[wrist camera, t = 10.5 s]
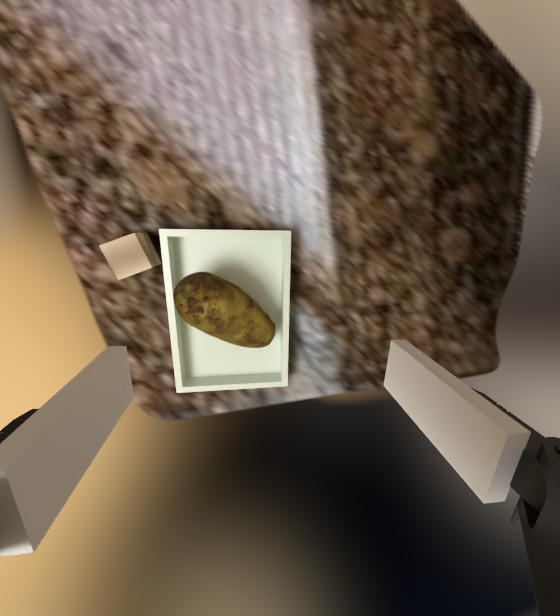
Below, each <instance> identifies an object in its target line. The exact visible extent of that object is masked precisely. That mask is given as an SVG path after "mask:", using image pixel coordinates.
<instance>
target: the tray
mask: <svg viewBox="0 0 560 616" xmlns="http://www.w3.org/2000/svg"><path fill="white" fill-rule="evenodd" d="M159 236H160V245H161V254H162V263H163V272H164V282H165V291H166V300H167V309H168V318H169V328H170V337H171V346H172V355H173V364H174V373H175V383H176V392H177V393H182V392H199V391H216V390H232V389H249V388H265V387H282V386H288V347H289V304H290V262H291V231H280V230H202V229H159ZM196 272H209V273H212V274H215V275H217V276H219V277H221V278H223V279H225V280H227V281H229V282H231V283H233V284H235V285H237V286H238V287H240V288H241V289H242V290H243V291H244V292H246V293H247V294H249V296H250V297H251V298H253V299H254V300H255V301H256V302H257V303H258V304H259V305H260V306H261V308H262V309H263V310H264V312H266V313H267V314H268V315H269V317H270V318H271V320H272V321H273V322H274V323H275V327H276V329H275V336H274V338H273V340H272V342H271V343H270V344H269V345H268V346H266V347H262V348H248V347H241V346H237V345H234V344H231V343H228V342H225V341H222V340H220V339H218V338H216V337H213V336H210V335H208V334H206V333H204V332H202V331H200V330H198V329H196V328H195V327H193V326H191V325H189V324H188V323H186V322H185V321H184V320H183V319H182V318H181V316H180V315H179V314H178V312H177V309H176V308H175V304H174V299H173V292H174V289H175V287H176V285H177V284H178V283H179V282H180V281H181V280H182V279H183V278H184V277H186V276H187V275H190V274H192V273H196Z"/></svg>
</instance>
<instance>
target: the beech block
mask: <svg viewBox="0 0 560 616" xmlns="http://www.w3.org/2000/svg"><path fill="white" fill-rule="evenodd" d="M100 248H101V250H102V252H103V253H104V255H105V257H106V259H107V261H108V262H109V264H110V266H111V268H112V270H113V271H114V273H115V275H116V277H117V279H118V280H120V279H123V278H125V277H128V276H131V275H134V274H136V273H139V272H142V271H144V270H147V269H150V268H152V267H155V266H157V265H159V264H162V262H161V260H160V258H159V256H158V254H157V252H156V250H155V248H154V246H153V244H152V242H151V240H150V238H149V236H148V234H147V232H145V233H133V234H130V235H127V236H124V237H122V238H119V239H116V240H114V241H111V242H108V243H105V244H103V245H100Z"/></svg>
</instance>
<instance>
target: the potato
mask: <svg viewBox="0 0 560 616" xmlns="http://www.w3.org/2000/svg"><path fill="white" fill-rule="evenodd" d="M173 299H174V304H175V308H176V309H177V312H178V314H179V315H180V316H181V318H182V319H183V320H184V321H185V322H186V323H188V324H189V325H191V326H193V327H195V328H196V329H198V330H200V331H202V332H204V333H206V334H208V335H210V336H213V337H216V338H218V339H220V340H222V341H225V342H228V343H231V344H234V345H237V346H241V347H248V348H262V347H266V346H268V345H269V344H270V343H271V342H272V340H273V338H274V336H275V329H276V327H275V323H274V322H273V321H272V320H271V318H270V317H269V315H268V314H267V313H266V312H264V310H263V309H262V308H261V306H260V305H259V304H258V303H257V302H256V301H255V300H254V299H253V298H251V297H250V296H249V294H247V293H246V292H244V291H243V290H242V289H241V288H240V287H238V286H237V285H235V284H233V283H231V282H229V281H227V280H225V279H223V278H221V277H219V276H217V275H215V274H212V273H209V272H196V273H192V274H190V275H187V276H186V277H184V278H183V279H182V280H181V281H180V282H179V283H178V284H177V285H176V287H175V289H174V292H173Z"/></svg>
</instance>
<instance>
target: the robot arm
mask: <svg viewBox="0 0 560 616" xmlns="http://www.w3.org/2000/svg"><path fill="white" fill-rule="evenodd" d="M384 387H385V388H386V389H387V390H388V391H389V392H390V393H391V395H392V396H393V397H394V398H395V399H396V401H397V402H398V403H399V404H400V405H401V407H402V408H403V409H404V410H405V411H406V412H407V414H408V415H409V416H410V417H411V418H412V419H413V421H414V422H415V423H416V424H417V425H418V427H419V428H420V429H421V430H422V431H423V432H424V434H425V435H426V436H427V437H428V438H429V440H430V441H431V442H432V443H433V444H434V445H435V447H436V448H437V449H438V450H439V451H440V452H441V454H442V455H443V456H444V457H445V458H446V460H447V461H448V462H449V463H450V464H451V465H452V467H453V468H454V469H455V470H456V471H457V472H458V474H459V475H460V476H461V477H462V478H463V480H465V482H466V483H467V484H468V485H469V487H470V488H471V489H472V490H473V491H474V492H475V494H476V495H477V496H478V497H479V498H480V499H481V501H482V502H483V503H491V502H501V501H505V499H506V497H507V494H508V491H509V488H510V486H511V487H512V488H513V489H514V490H515V491H516V492H517V493H518V494H519V495H520V498H519V500H518V503H517V505H516V508H515V510H514V513H513V516H512V518H511V524H513V525H515V524H516V522H517V520H519V519H520V521H521V526H522V531H523V536H524V541H525V546H526V551H527V557H528V561H529V566H530V572H531V577H532V581H533V587H534V592H535V597H536V602H537V607H538V612H539V616H560V438H556V437H547V438H545V437H544V436H542V435H541V434H539V433H538V432H536V431H535V430H534V429H532V428H531V427H530V426H528V425H527V424H525V423H524V422H523V421H521V420H520V419H519V418H517V417H516V416H514V415H513V414H511V413H510V412H507V410H506V409H505V408H503V407H502V406H500V405H497V403H496V402H495V401H493V400H492V399H490V398H489V397H488V396H486V395H485V394H483V393H481V392H479V391H477V390H475V389H473V388H471V387H468V386H467V385H466V384H465V383H463V382H462V381H460V380H459V379H458V378H456V377H455V376H454V375H452V374H451V373H450V372H448V371H447V370H445V369H444V368H443V367H441V366H440V365H439V364H437V363H436V362H435V361H433V360H432V359H430V358H429V357H428V356H426V355H425V354H424V353H422V352H421V351H419V350H418V349H417V348H415V347H414V346H413V345H411V344H410V343H409V342H407V341H406V340H391V345H390V351H389V357H388V363H387V369H386V374H385V380H384ZM133 397H134V395H133V388H132V382H131V375H130V369H129V362H128V356H127V349H126V346H108V347H107V348H106V349H105V350H104V351H103V352H102V353H101V354H100V355H98V356H97V357H96V358H95V359H94V360H93V361H92V362H91V363H89V364H88V365H87V366H86V367H85V368H84V369H83V370H82V371H81V372H79V373H78V374H77V375H76V376H75V377H74V378H73V379H72V380H71V381H69V382H68V383H67V384H66V385H65V386H64V387H63V388H62V389H61V390H59V391H58V392H57V393H56V394H55V395H54V396H53V397H52V398H51V399H50V400H48V401H47V402H46V403H45V404H44V405H43V406H42V407H41V408H39V409H32V410H30V411H28V412H26V413H25V414H23V415H21V416H19V417H18V418H16V419H14V420H13V421H12V422H10V423H9V424H8V425H7V426H6V427H4V428H3V429H2V430H1V431H0V555H1V556H5V555H15V554H24V553H33V552H34V551H35V550H36V548H37V547H38V545H39V544H40V542H41V540H42V539H43V537H44V536H45V534H46V533H47V531H48V529H49V528H50V526H51V525H52V523H53V522H54V520H55V518H56V517H57V515H58V514H59V512H60V511H61V509H62V508H63V506H64V505H65V503H66V501H67V500H68V498H69V496H70V495H71V494H72V492H73V491H74V489H75V487H76V486H77V484H78V483H79V481H80V480H81V478H82V477H83V475H84V473H85V472H86V470H87V469H88V467H89V466H90V464H91V463H92V461H93V459H94V458H95V456H96V455H97V453H98V452H99V450H100V448H101V447H102V445H103V444H104V442H105V441H106V439H107V438H108V436H109V434H110V433H111V431H112V429H113V428H114V427H115V425H116V424H117V422H118V421H119V418H120V417H121V416H122V414H123V413H124V411H125V409H126V408H127V406H128V405H129V403H130V402H131V400H132V399H133Z"/></svg>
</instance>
